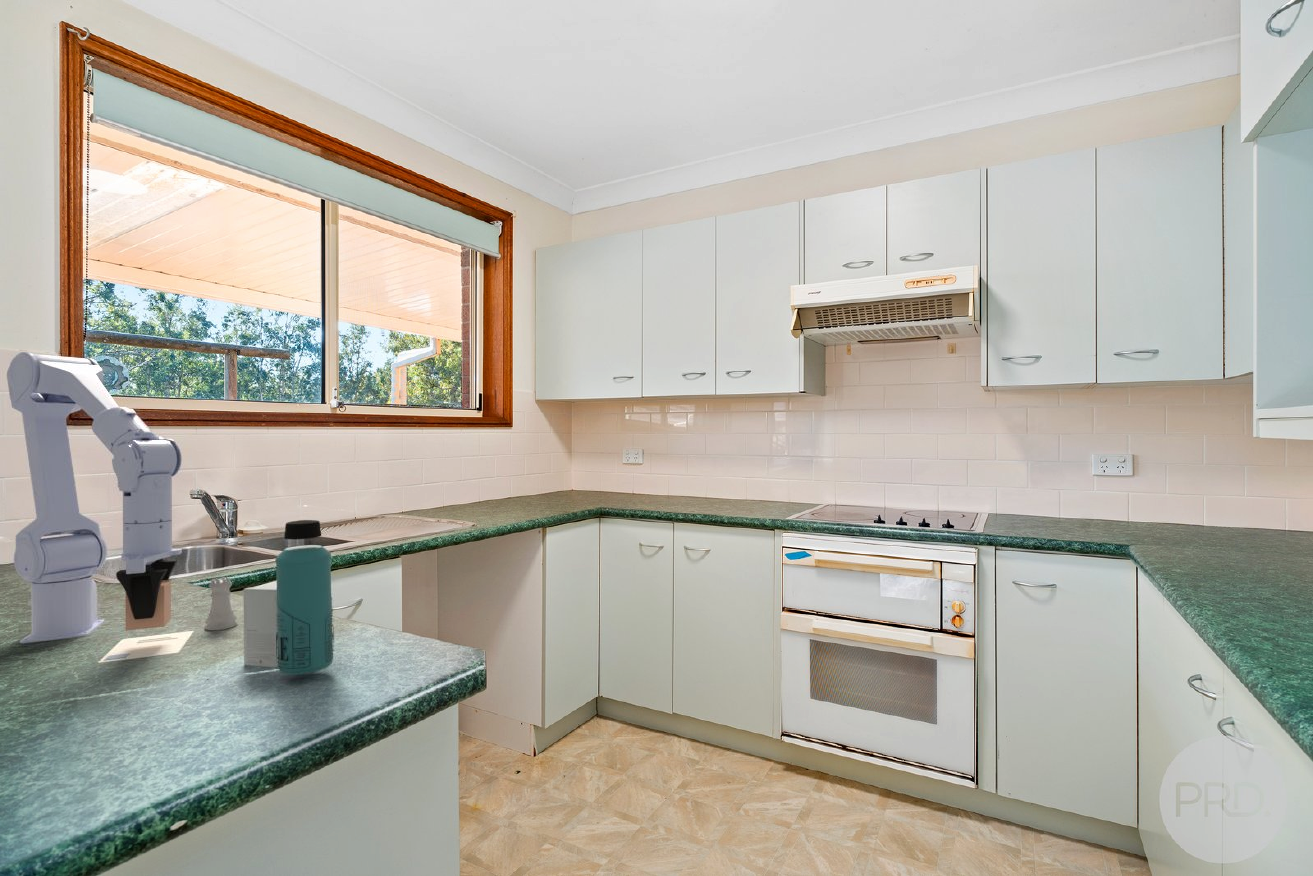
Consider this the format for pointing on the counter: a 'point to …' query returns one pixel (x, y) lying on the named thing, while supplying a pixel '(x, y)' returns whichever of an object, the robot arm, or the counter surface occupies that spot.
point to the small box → (260, 625)
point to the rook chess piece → (220, 606)
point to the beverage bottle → (304, 603)
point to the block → (161, 611)
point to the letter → (147, 646)
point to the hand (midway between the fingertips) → (148, 614)
